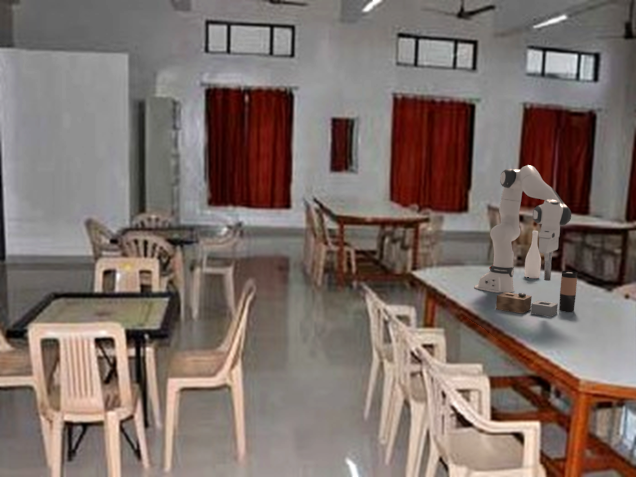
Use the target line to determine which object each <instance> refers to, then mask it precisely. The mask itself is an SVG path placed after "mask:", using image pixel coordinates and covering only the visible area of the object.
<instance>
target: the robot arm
mask: <svg viewBox="0 0 636 477" xmlns="http://www.w3.org/2000/svg"><path fill="white" fill-rule="evenodd" d="M499 180H500V181H499V182H500V185H501V186H502V187H503V188H502V193H501V198H500V204H499V208H498V213H499V215H500V223H498V224H496V225H495V226H493V227H492V228H491V229H490V233H489V235H490V238H491V241H492V246H493V264H492V265H490V266H489V267H488V269H489V271H488V272H486V273H485V274H483V275H482V276H481V277H480V278H479V280H478V284H475V285H474V289H476V290H481V291H486V292H491V293H499V294H500V293H504V292H508V293H514V292H515V288H514V278H513V277H514V272H515V267H514V259H515V252H514V251H513V246H512V242H513V241H515V240H516V239H518V238H519V237H520V235H521V227H520V210H521V202H522V196H523V193H524V194H525V195H527V197H530V198H533V199H538V200H539V199H540V200H544V202H543V203H542V204H539V205H536V207H534V209H533V211H532V220H533V221H534V222H535V223H536V224H539V225H540V226H541V227H540V231H538V238H539V239H538V249H539V253H540V254H543V256H544V262H545V261H549V252H552V257H553V255H554V252H555V251H557V250H558V249H559V238H560V233H561V226H566V225H567V224H568V223H569V222H570V221H571V218H572V211H571V209H570V208H569V207H568V206H567V204H565V202H564V201H563V200H562V199H561V197H560V196H559V194H558V193H557V192H556V190H555V189H554V188H553V187H552V186H550V185H549V184H547V183H546V182H545V181H544V180H543V178H542V176H541V174H540V173H539V171H538V170H537V169H536V167H535V166H533V165H529V164H527V165H525V166H522V167H521V168H520V169H515V168H514V169H513V168H507V169H504V170H502V172H501V173H500V179H499ZM552 257H551V260H552Z"/></svg>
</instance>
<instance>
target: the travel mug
mask: <svg viewBox="0 0 636 477" xmlns="http://www.w3.org/2000/svg"><path fill="white" fill-rule="evenodd" d="M560 280H561V281H560V291H559V304H558V305H559V306H558V308H559V309H558V310H559V311H561V312H564V313H573V312H574V311H575V305H576V297H577V295H576V294H577V283H578V282H577V281H578V272H577V271H574V270H573V271H572V270H562V271H561V276H560Z"/></svg>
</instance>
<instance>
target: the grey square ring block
mask: <svg viewBox="0 0 636 477" xmlns="http://www.w3.org/2000/svg"><path fill="white" fill-rule="evenodd" d="M558 305H559V304H558V303H557V302H552V301H551V302H550V301H543V300H536V301H534V302H531V309H530V314H533V315H537V316H543V317H544V316H545V317H548V318H549V317H550V318H551V317H553V316H555V315H556V314H557V313H558V307H559V306H558Z"/></svg>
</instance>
